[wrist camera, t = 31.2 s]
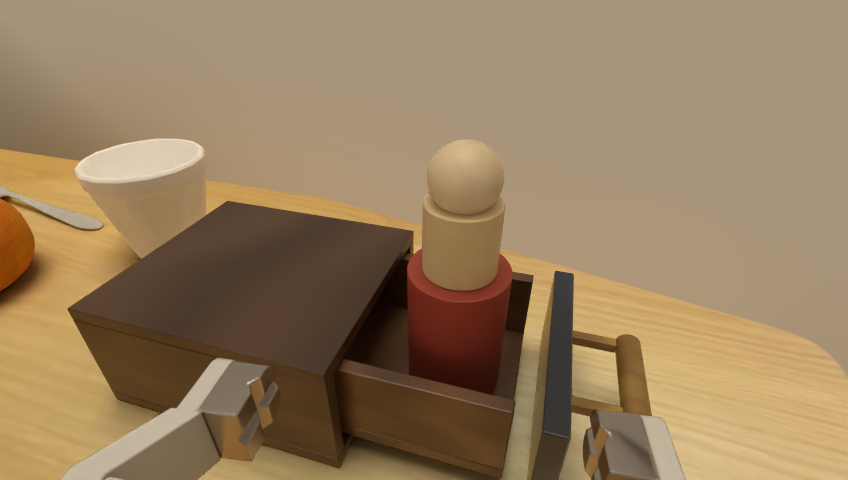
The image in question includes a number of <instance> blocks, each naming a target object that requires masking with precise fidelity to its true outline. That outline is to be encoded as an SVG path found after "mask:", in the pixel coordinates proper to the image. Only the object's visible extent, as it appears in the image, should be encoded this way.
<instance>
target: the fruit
mask: <svg viewBox="0 0 848 480" xmlns="http://www.w3.org/2000/svg"><path fill="white" fill-rule="evenodd" d="M34 249H35V242H34V237H33V234H32V232H31V229H30V227H29V226H28V224H27V222H26V221H25V219H24V218H23V216H22V215H21V213H19V212H18V211H17V210H16V209H15V208H14V207H13V206H12V205H10V204H9V203H7V202H6V201H4V200H2V199H0V291H2V290H3V289H5V288H6V287H8V286H9V285H11V284H12V283H13V282H14V281H15V280H17V278H18V277H19V276H20V275H21V274H22V273H23V272H24V271H25V270H26V269H27V268H28V266H29V264H30V262H31V259H32V257H33V254H34Z"/></svg>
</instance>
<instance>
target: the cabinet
mask: <svg viewBox="0 0 848 480" xmlns="http://www.w3.org/2000/svg"><path fill="white" fill-rule="evenodd" d="M405 253H408V254H413V231H410V230H404V229H398V228H392V227H386V226H379V225H373V224H367V223H361V222H355V221H348V220H342V219H336V218H330V217H324V216H318V215H311V214H305V213H299V212H293V211H287V210H280V209H274V208H268V207H262V206H256V205H250V204H243V203H237V202H231V201H227V202H225V203H224V204H222V205H221V206H219V207H218V208H216V209H215V210H213V211H212V212H210V213H209V214H207V215H206V216H204V217H203V218H201V219H200V220H198V221H197V222H195V223H194V224H192V225H191V226H190V227H188V228H187V229H185V230H184V231H182V232H181V233H179V234H178V235H176V236H175V237H173V238H172V239H170V240H169V241H167V242H166V243H164V244H163V245H161V246H160V247H158V248H157V249H155V250H154V251H152V252H151V253H149V254H148V255H146V256H145V257H143V258H142V259H140V260H139V261H137V262H136V263H135V264H133V265H132V266H130V267H129V268H127V269H126V270H124V271H123V272H121V273H120V274H118V275H117V276H115V277H114V278H112V279H111V280H109V281H108V282H106V283H105V284H103V285H102V286H100V287H99V288H97V289H96V290H94V291H93V292H91V293H90V294H88V295H87V296H85V297H84V298H82V299H81V300H80V301H78V302H77V303H75V304H74V305H72V306H71V307H69V308H68V311H69V313H70V315H71V317H72V318H73V319H74V320H73V321H74V322H75V324H76V326H77V328H78V330H79V331H80V333H81V335H82V337H83V339H84V340H85V342H86V344H87V346H88V348H89V349H90V351H91V353H92V355H93V357H94V359H95V360H96V362H97V364H98V366H99V368H100V369H101V371H102V373H103V375H104V377H105V378H106V380H107V382H108V384H109V386H110V387H111V389H112V391H113V392H114V394H115V396H116V398H117V399H118V400H122V401H125V402H128V403H131V404H135V405H138V406H141V407H144V408H148V409H151V410H154V411H157V412H161V413H163V412H165V411H167V410H168V409H170V408H177V407H178V406H179V404H180V403H181V402H182V400H183V399H184V398H185V396H186V395H187V394H188V392H189V391H190V390H191V388H192V387H193V386H194V384H195V383H196V382H197V380H198V379H199V378H200V376H201V375H202V374H203V372H204V371H205V370H206V368H207V367H208V366H209V364H210V363H211V362H212V361H213V360H215V359H217V358H223V359H230V360H237V361H243V362H249V363H255V364H261V365H267V366H273V367H274V371H275V374H276V376H275V378H274V379H273V381H274V382H275V383H276V384H277V385H278V386H279V389H280V404H279V408H278V412H277V414H276V416H275V418H274V420H273V422H272V423H271V424H270V425H268V426H267V427H265V428H264V429H263V433H264V440H263V442H262V444H264V445H267V446H271V447H274V448H277V449H280V450H283V451H287V452H290V453H293V454H296V455H300V456H303V457H306V458H309V459H313V460H316V461H319V462H322V463H326V464H329V465H332V466H335V467H340V465H341V463H342V461H343V459H344V457H345V455H346V452H347V450H348V448H349V446H350V444H351V442H352V440H353V438H354V436H352V435H349V434H345V433H342V430H341V424H340V417H339V410H338V403H337V396H336V390H335V383H334V376H333V373H334V371H335V369H336V368H337V366H338V364H339V363H340V361H341V359H342V358H343V356H344V354H345V353H346V351H347V349H348V348H349V346H350V344H351V343H352V341H353V339H354V338H355V336H356V334H357V333H358V331H359V329H360V328H361V326H362V324H363V323H364V321H365V319H366V318H367V316H368V314H369V313H370V311H371V309H372V308H373V306H374V305H375V303H376V301H377V300H378V298H379V296H380V295H381V293H382V291H383V290H384V288H385V286H386V285H387V283H388V281H389V280H390V278H391V276H392V275H393V273H394V271H395V270H396V268H397V266H398V265H399V263H400V261H401V260H402V258H403V256H404V255H405Z"/></svg>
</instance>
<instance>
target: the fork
mask: <svg viewBox="0 0 848 480" xmlns="http://www.w3.org/2000/svg"><path fill="white" fill-rule="evenodd" d="M4 196H10V197H13V198H16V199H18V200H20V201H22V202H24V203H26V204H28V205H30V206H32V207H34V208H36V209H38V210H40V211H42V212H43V213H46V214H48V215H50V216H52V217H54V218H56V219H59V220H61V221H63V222H65V223H67V224H70V225H72V226H74V227H77V228H80V229H85V230H96V229H99V228H101V227H103V223H102V222H101V221H100V220H98V219H96V218H92V217H89V216H86V215H82V214H79V213H75V212H71V211H68V210H65V209H61V208H58V207H55V206H52V205H48V204H45V203H42V202H39V201H36V200H33V199H30V198H28V197H25V196H22V195H20V194H17V193H13V192H11V190H9V189H6V188H4V187H1V186H0V197H4Z"/></svg>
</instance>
